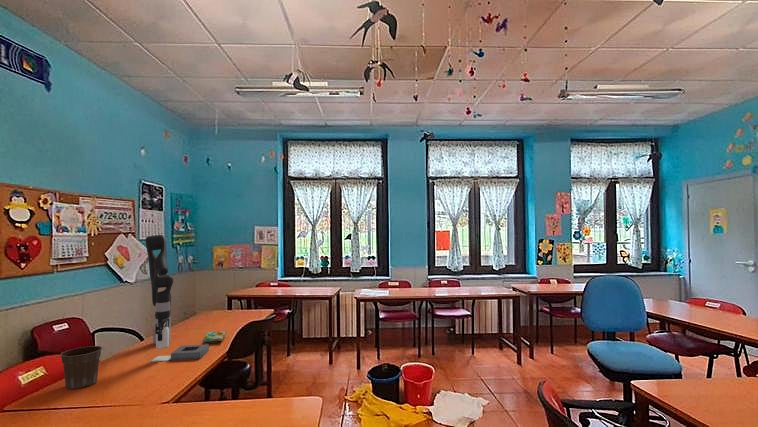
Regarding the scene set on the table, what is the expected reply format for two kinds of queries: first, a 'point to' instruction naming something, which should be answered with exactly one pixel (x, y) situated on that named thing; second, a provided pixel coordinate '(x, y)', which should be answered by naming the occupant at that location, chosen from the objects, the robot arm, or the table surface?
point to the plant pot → (81, 366)
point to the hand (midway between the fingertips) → (162, 339)
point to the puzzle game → (214, 337)
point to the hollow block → (189, 352)
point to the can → (163, 339)
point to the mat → (161, 358)
